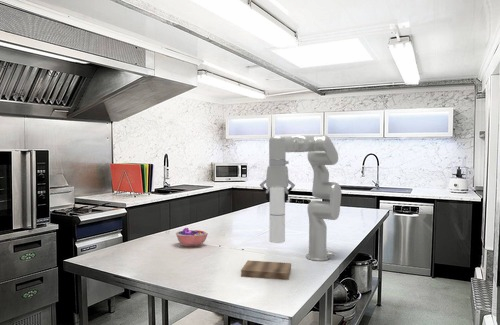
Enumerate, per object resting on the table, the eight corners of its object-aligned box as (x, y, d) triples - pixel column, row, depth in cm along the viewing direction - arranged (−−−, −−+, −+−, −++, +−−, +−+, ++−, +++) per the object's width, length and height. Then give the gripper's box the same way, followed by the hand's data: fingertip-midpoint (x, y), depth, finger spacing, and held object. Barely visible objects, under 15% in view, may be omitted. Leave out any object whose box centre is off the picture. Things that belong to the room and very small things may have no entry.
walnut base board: (290, 269, 177) (291, 263, 177) (288, 279, 161) (288, 273, 161) (247, 266, 181) (247, 260, 181) (241, 276, 165) (241, 270, 165)
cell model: (202, 250, 211) (202, 231, 211) (170, 248, 215) (171, 229, 215) (211, 243, 228) (211, 226, 227) (181, 242, 232) (181, 224, 231)
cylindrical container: (276, 243, 159) (276, 188, 158) (266, 240, 165) (266, 187, 164) (288, 241, 163) (288, 187, 163) (277, 238, 169) (277, 186, 168)
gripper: (296, 163, 165) (296, 201, 166) (259, 163, 168) (259, 200, 169) (296, 163, 158) (296, 203, 159) (257, 163, 161) (257, 202, 161)
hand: (277, 201), depth 164 cm, fingers closed on cylindrical container, 7 cm apart
